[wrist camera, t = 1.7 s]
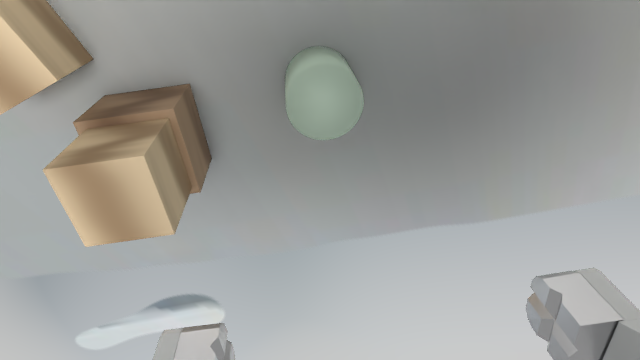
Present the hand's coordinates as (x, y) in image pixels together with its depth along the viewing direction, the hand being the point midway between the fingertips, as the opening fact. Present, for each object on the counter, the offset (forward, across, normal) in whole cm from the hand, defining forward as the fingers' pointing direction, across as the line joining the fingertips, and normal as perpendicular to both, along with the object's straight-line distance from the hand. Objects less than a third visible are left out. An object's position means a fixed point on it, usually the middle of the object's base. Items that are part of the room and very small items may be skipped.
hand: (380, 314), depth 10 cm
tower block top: (+16, +12, +2) cm, 20 cm away
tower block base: (+21, +12, +2) cm, 24 cm away
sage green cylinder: (+21, 0, 0) cm, 21 cm away
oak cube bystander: (+21, +18, -5) cm, 28 cm away
